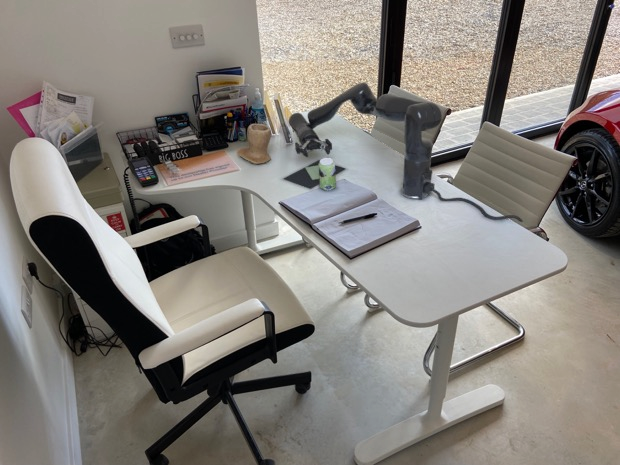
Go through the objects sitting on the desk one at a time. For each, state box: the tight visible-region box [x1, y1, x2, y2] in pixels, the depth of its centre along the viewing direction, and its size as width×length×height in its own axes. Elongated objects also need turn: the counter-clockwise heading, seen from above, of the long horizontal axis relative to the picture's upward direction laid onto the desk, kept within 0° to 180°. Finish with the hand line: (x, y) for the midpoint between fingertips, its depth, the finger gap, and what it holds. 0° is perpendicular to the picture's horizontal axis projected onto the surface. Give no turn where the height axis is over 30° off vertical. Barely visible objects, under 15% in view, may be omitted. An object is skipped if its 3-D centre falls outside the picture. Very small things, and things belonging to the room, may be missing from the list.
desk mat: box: [283, 159, 346, 190], centre depth 198 cm, size 14×22×1 cm, turn 140°
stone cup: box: [236, 123, 272, 165], centre depth 209 cm, size 15×12×15 cm
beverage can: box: [319, 157, 337, 191], centre depth 183 cm, size 6×7×12 cm
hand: (317, 153), depth 191 cm, fingers open, 8 cm apart
